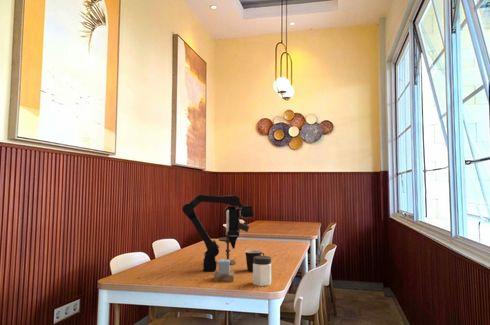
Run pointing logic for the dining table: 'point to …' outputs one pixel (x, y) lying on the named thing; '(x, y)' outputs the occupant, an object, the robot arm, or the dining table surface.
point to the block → (224, 266)
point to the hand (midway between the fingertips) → (233, 247)
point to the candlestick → (226, 239)
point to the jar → (262, 270)
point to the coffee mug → (251, 258)
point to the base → (224, 277)
